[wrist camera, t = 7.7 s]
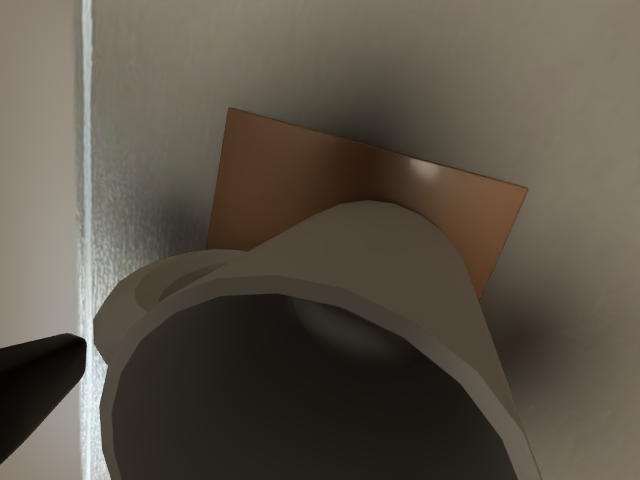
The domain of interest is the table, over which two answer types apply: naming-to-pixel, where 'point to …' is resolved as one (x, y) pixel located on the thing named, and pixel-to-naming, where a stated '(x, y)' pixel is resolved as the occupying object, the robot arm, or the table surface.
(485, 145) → the table surface
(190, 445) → the cup
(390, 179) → the coaster
